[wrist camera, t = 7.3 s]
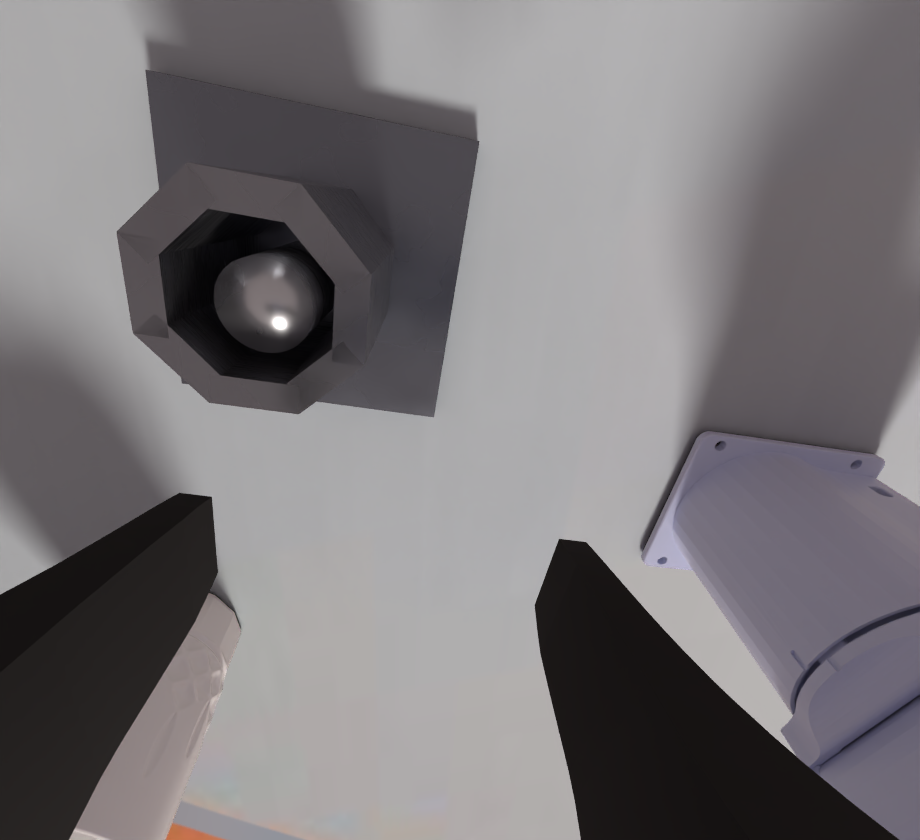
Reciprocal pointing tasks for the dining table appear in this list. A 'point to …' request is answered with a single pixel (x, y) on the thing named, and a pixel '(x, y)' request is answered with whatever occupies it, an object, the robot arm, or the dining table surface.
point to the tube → (236, 236)
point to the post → (287, 260)
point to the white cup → (164, 737)
